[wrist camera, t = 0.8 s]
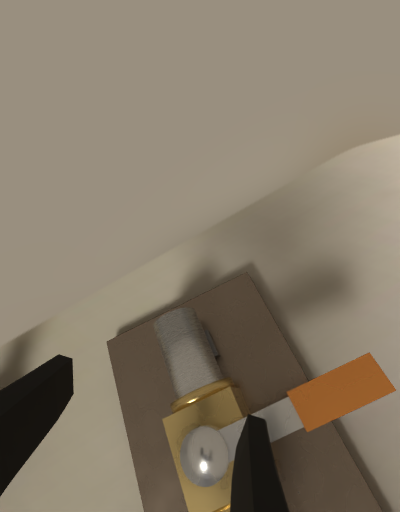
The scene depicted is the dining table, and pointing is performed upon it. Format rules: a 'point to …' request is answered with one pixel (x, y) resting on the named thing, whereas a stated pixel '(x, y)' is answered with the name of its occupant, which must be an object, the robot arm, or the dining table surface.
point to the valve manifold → (222, 403)
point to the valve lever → (286, 416)
